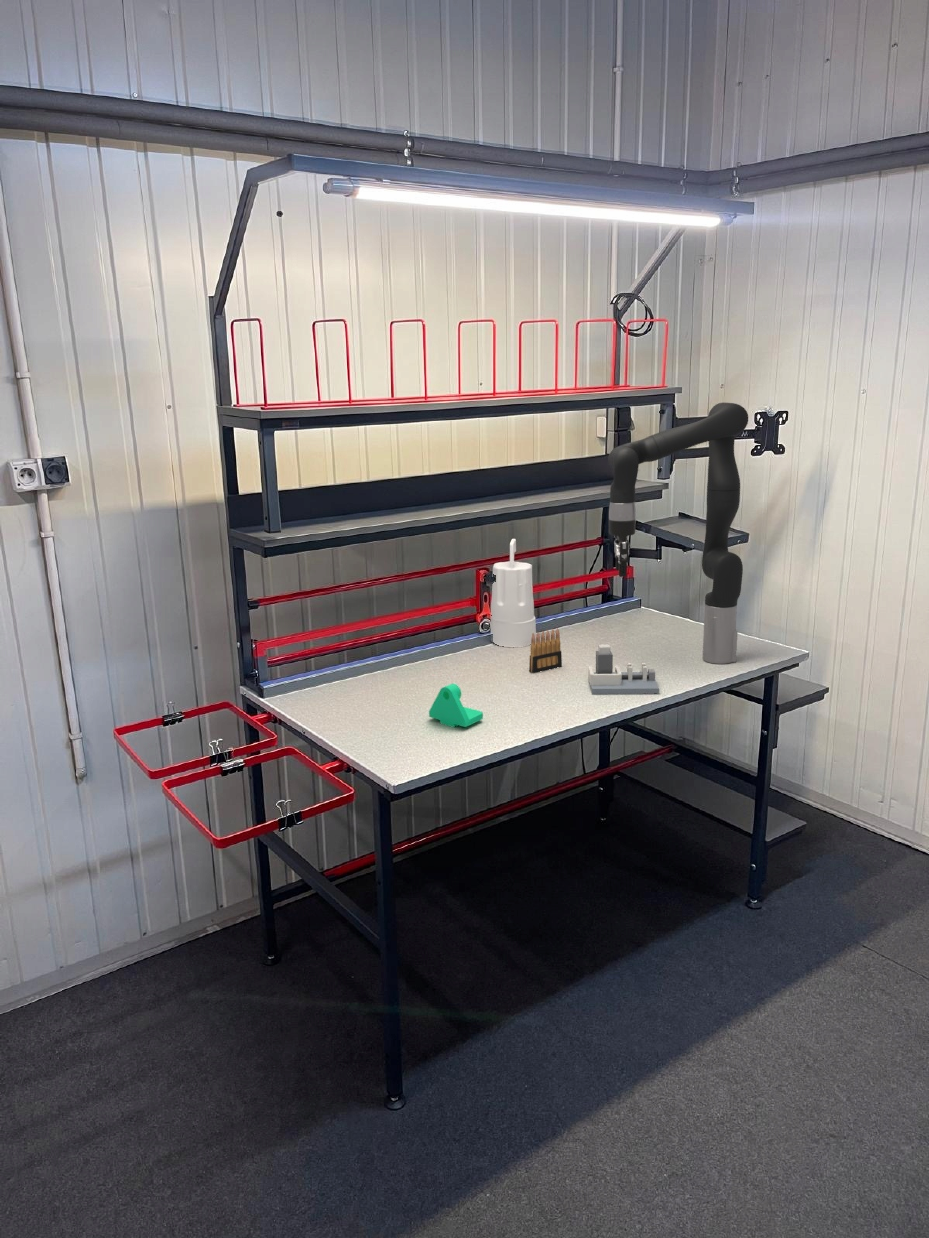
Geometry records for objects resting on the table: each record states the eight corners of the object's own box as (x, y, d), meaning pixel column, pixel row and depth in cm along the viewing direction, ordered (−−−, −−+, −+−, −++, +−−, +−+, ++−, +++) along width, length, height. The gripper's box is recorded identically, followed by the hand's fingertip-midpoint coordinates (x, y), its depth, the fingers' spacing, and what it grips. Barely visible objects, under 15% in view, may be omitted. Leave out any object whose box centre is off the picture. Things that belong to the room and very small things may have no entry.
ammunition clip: (532, 673, 264) (532, 634, 261) (529, 671, 265) (528, 632, 262) (562, 666, 269) (562, 628, 266) (558, 665, 271) (558, 626, 268)
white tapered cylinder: (489, 634, 304) (487, 537, 295) (533, 633, 305) (532, 535, 296) (492, 648, 289) (490, 545, 281) (538, 646, 290) (538, 544, 281)
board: (651, 677, 258) (652, 658, 256) (658, 694, 244) (659, 674, 243) (587, 677, 259) (587, 659, 257) (591, 694, 245) (591, 674, 244)
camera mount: (484, 721, 228) (483, 683, 226) (465, 731, 223) (464, 692, 220) (448, 712, 236) (447, 674, 233) (429, 720, 230) (427, 682, 228)
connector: (609, 677, 253) (610, 643, 251) (612, 682, 250) (612, 647, 247) (595, 678, 253) (595, 644, 251) (597, 682, 249) (598, 648, 247)
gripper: (638, 521, 250) (637, 578, 254) (632, 513, 264) (631, 568, 268) (611, 522, 251) (610, 579, 255) (606, 514, 264) (605, 568, 268)
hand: (621, 573), depth 261 cm, fingers open, 8 cm apart
